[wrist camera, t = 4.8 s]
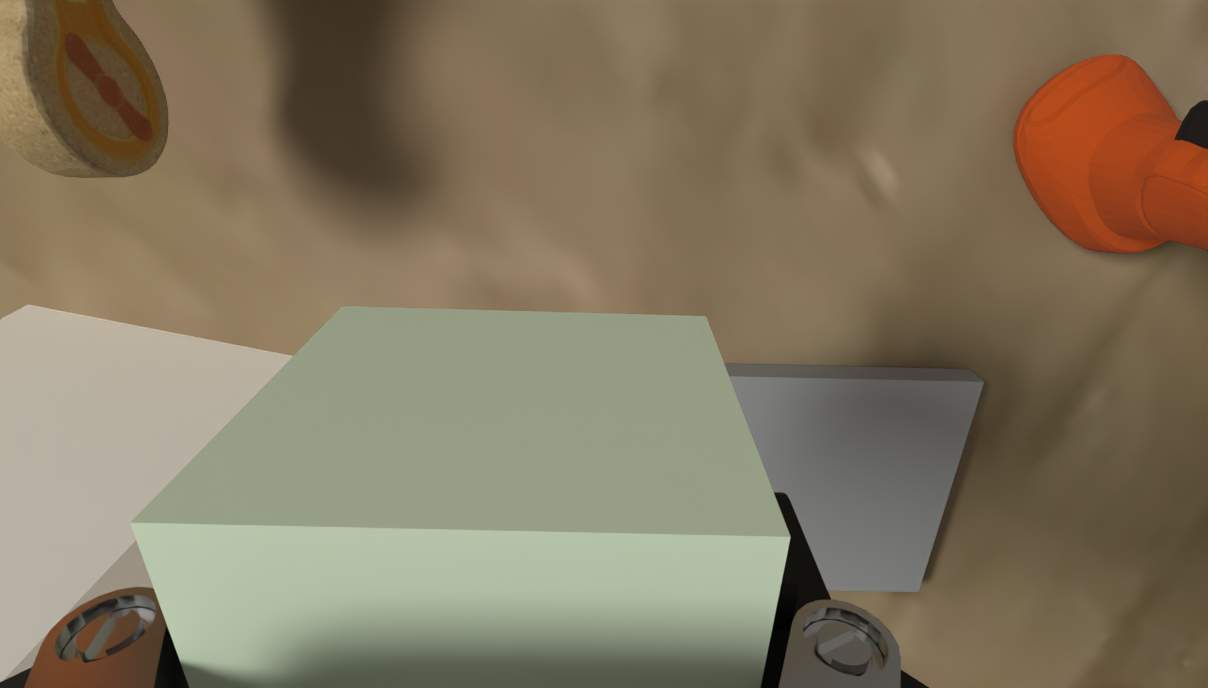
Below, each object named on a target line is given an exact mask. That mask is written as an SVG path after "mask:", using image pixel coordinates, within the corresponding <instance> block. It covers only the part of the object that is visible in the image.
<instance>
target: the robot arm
mask: <svg viewBox="0 0 1208 688" xmlns="http://www.w3.org/2000/svg"><path fill="white" fill-rule="evenodd" d="M774 495H775V497H776V500H777V503H778V505H779V508H780V510H781V513H782V516H783V518H784V521H785V523H786V526H787V529H788V531H789V534H790V536H791V538H790V543H789V548H788V553H787V558H786V563H785V568H784V573H783V578H782V583H781V588H780V593H779V598H778V603H777V608H776V613H775V618H774V623H773V628H772V632H771V637H770V642H769V647H768V652H767V657H766V662H765V667H764V672H763V677H762V682H761V687H760V688H929V687H927V686H926V685H924V684H922V683H921V682H919V681H918V680H916V679H915V678H913V677H911V676H910V675H908V674H907V673H905V672H904V671H902V670H901V657H900V652H899V646H898V644H897V642H896V640H895V638H894V637H893V635H892V633H891V631H890V630H889V629H888V628H887V627H886V626H885V625H884V624H883V623H882V622H881V621H880V620H879V619H878V618H876V617H875V616H873V615H872V614H870V613H869V612H868V611H866V610H864V609H862V608H860V607H858V606H855V605H853V604H851V603H847V602H843V601H838V600H831V598H830V596H829V593H828V591H827V588H826V586H825V583H824V581H823V579H822V576H821V574H820V571H819V569H818V567H817V564H816V562H815V559H814V557H813V554H812V552H811V550H810V547H809V545H808V542H807V540H806V538H805V535H804V533H803V530H802V528H801V525H800V523H799V521H798V518H797V516H796V513H795V511H794V509H793V506H792V504H791V501H790V499H789V498H788V496H787V494H785V493H782V492H774ZM0 688H189V685H188V682H187V679H186V677H185V674H184V671H183V668H182V665H181V663H180V660H179V657H178V654H177V652H176V649H175V646H174V643H173V640H172V638H171V635H170V632H169V629H168V627H167V624H166V621H165V618H164V615H163V613H162V610H161V607H160V604H159V602H158V599H157V596H156V593H155V591H154V589H153V588H149V587H131V588H125V589H118V590H115V591H112V592H109V593H106V594H103V595H100V596H98V597H96V598H94V599H92V600H90V601H88V602H86V603H84V604H82V605H80V606H79V607H77V608H76V609H74V610H73V611H71V612H70V613H69V614H67V615H66V616H64V617H63V618H62V619H61V620H60V621H59V622H58V623H57V624H56V625H55V626H54V627H53V628H52V629H51V630H50V631H49V633H48V634H47V636H46V637H45V639H44V641H43V642H42V644H41V646H40V649H39V651H38V654H37V656H36V659H35V661H34V664H33V666H32V667H31V668H29V669H27V670H25V671H22V672H20V673H18V674H16V675H14V676H12V677H10V678H8V679H6V680H4V681H1V682H0Z"/></svg>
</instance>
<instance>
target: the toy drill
mask: <svg viewBox="0 0 1208 688" xmlns="http://www.w3.org/2000/svg"><path fill="white" fill-rule="evenodd" d="M1014 151H1015V156H1016V161H1017V164H1018V167H1019V169H1020V172H1021V174H1022V177H1023V179H1024V181H1025V183H1026V185H1027V187H1028V189H1029V191H1030V193H1031V194H1032V196H1033V198H1034V199H1035V201H1036V202H1037V204H1038V205H1039V207H1040V208H1041V210H1042V211H1043V212H1044V214H1045V215H1046V216H1047V217H1048V219H1049V220H1050V221H1051V222H1052V223H1053V224H1054V225H1055V226H1056V227H1057V228H1058V229H1059V230H1060V231H1061V232H1062V233H1063V234H1064V235H1065V236H1067V237H1069V238H1070V239H1072V240H1073V241H1074V242H1076V243H1078V244H1079V245H1081V246H1082V247H1084V248H1086V249H1090V250H1095V251H1099V252H1113V253H1135V252H1142V251H1145V250H1149V249H1152V248H1155V247H1157V246H1159V245H1160V244H1162V243H1164V242H1166V241H1167V240H1171V241H1175V242H1177V243H1181V244H1185V245H1189V246H1193V247H1197V248H1201V249H1204V250H1207V251H1208V101H1207V100H1203V101H1201V102H1199V103H1198V104H1196V105H1195V106H1194V107H1192V108H1191V109H1190V111H1189V112H1188V114H1187V115H1186V117H1185V118H1184V120H1183V122H1181V121H1179V119H1178V118H1177V116H1176V115H1175V113H1174V112H1173V110H1172V108H1171V107H1170V105H1169V104H1168V103H1167V101H1166V100H1165V98H1164V97H1163V95H1162V94H1161V93H1160V91H1159V90H1158V89H1157V87H1156V86H1155V84H1154V83H1153V82H1152V80H1151V79H1150V78H1149V77H1148V75H1147V74H1146V73H1145V71H1144V70H1143V69H1142V68H1141V67H1140V66H1139V65H1138V64H1137V63H1136V62H1135V61H1133V60H1132V59H1130V58H1128V57H1126V56H1122V55H1113V54H1112V55H1104V56H1099V57H1094V58H1090V59H1087V60H1085V61H1082V62H1080V63H1078V64H1076V65H1073V66H1071V67H1069V68H1067V69H1065V70H1064V71H1062V72H1060V73H1059V74H1057V75H1056V76H1054V77H1053V78H1051V79H1050V80H1049V81H1048V82H1046V83H1045V84H1044V85H1043V86H1042V87H1040V88H1039V89H1038V90H1037V91H1036V92H1035V94H1034V95H1033V96H1032V97H1031V98H1030V99H1029V100H1028V101H1027V103H1026V105H1025V106H1024V108H1023V109H1022V111H1021V113H1020V114H1019V116H1018V119H1017V123H1016V126H1015V129H1014Z"/></svg>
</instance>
